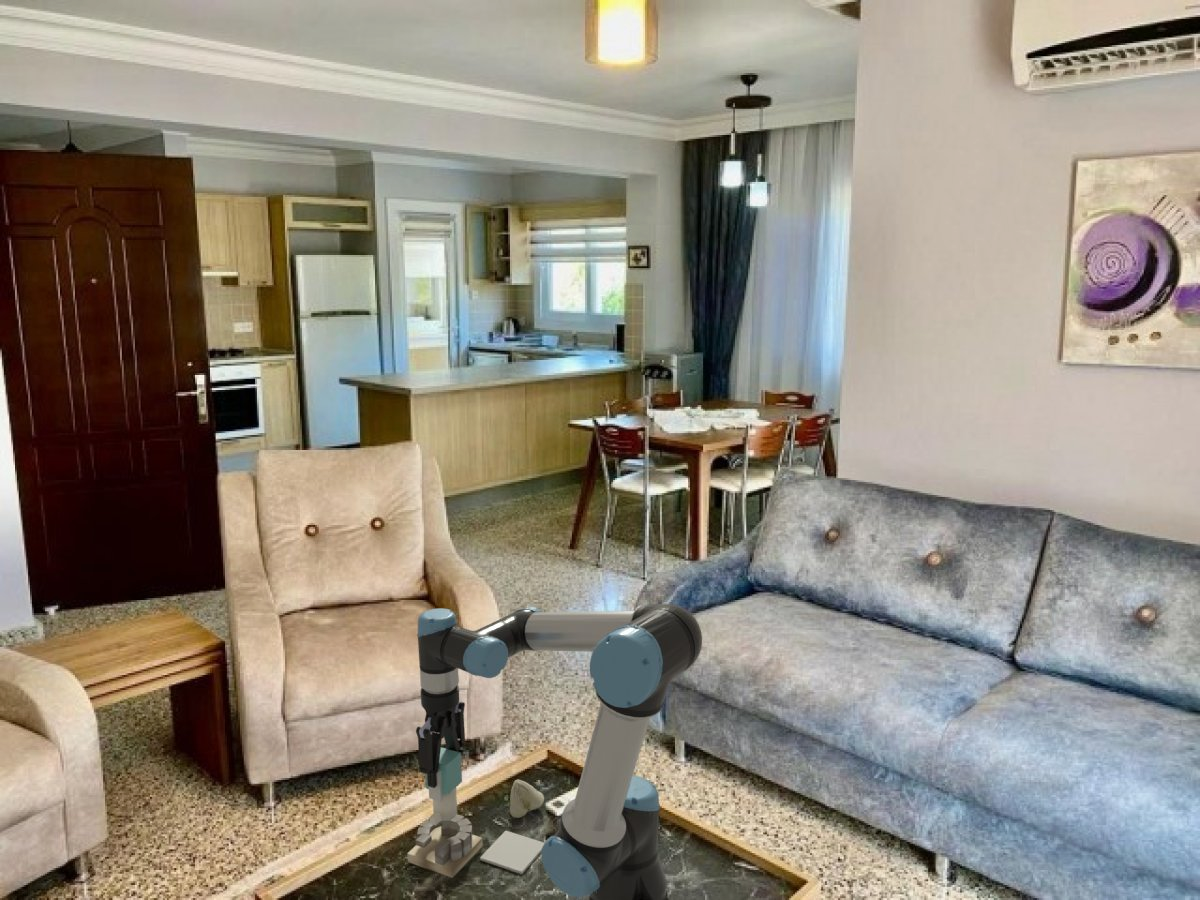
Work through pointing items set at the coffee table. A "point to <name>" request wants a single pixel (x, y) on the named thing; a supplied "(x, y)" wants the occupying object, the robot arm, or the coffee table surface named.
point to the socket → (445, 845)
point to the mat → (513, 852)
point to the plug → (447, 786)
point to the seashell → (524, 798)
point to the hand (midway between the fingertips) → (444, 791)
